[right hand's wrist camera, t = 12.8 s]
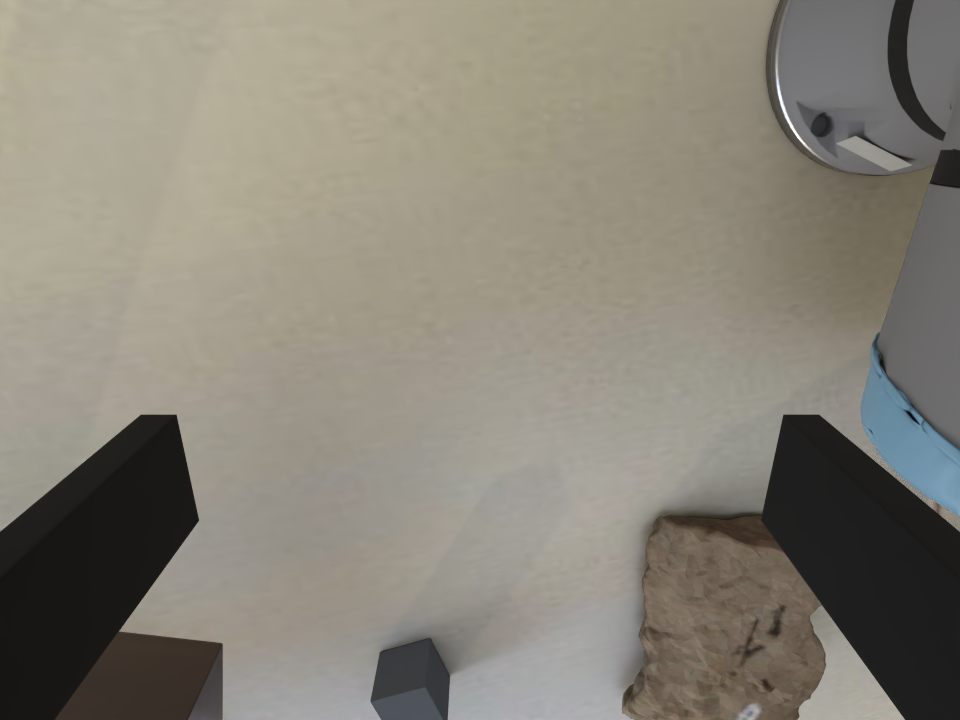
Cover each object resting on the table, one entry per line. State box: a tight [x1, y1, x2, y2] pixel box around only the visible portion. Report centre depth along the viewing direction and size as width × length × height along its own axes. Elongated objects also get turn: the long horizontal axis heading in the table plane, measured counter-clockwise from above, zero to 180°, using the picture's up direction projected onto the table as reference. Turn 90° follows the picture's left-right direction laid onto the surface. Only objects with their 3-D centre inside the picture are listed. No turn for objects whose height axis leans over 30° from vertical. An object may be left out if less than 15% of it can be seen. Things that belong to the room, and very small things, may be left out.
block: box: [371, 638, 450, 720], centre depth 51 cm, size 5×5×5 cm
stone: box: [622, 515, 826, 720], centre depth 49 cm, size 21×15×6 cm
